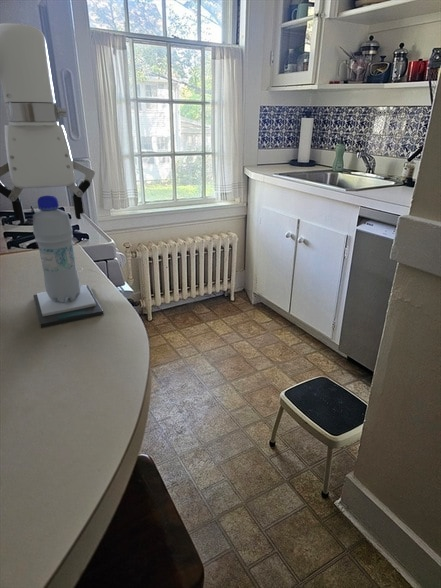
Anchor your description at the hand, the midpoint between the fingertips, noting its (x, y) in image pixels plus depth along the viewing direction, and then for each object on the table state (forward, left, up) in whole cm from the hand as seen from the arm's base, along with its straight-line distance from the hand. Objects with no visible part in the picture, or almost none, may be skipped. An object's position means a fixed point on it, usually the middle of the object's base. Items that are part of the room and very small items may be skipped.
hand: (51, 219), depth 71 cm
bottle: (0, 0, -16) cm, 16 cm away
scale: (+1, -1, -19) cm, 19 cm away
